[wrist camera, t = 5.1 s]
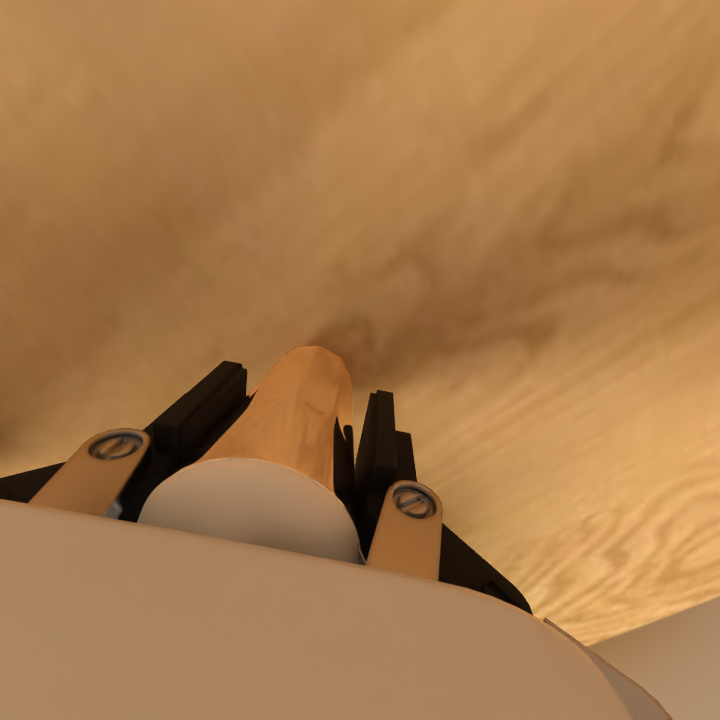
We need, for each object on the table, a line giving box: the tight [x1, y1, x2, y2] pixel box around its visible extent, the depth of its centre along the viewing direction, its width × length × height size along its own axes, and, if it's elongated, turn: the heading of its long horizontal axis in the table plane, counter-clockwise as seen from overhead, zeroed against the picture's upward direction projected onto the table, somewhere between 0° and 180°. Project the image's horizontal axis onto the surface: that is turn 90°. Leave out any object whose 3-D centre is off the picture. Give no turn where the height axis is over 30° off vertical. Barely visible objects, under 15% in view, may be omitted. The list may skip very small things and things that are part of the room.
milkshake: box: [137, 345, 366, 566], centre depth 10 cm, size 4×5×10 cm
